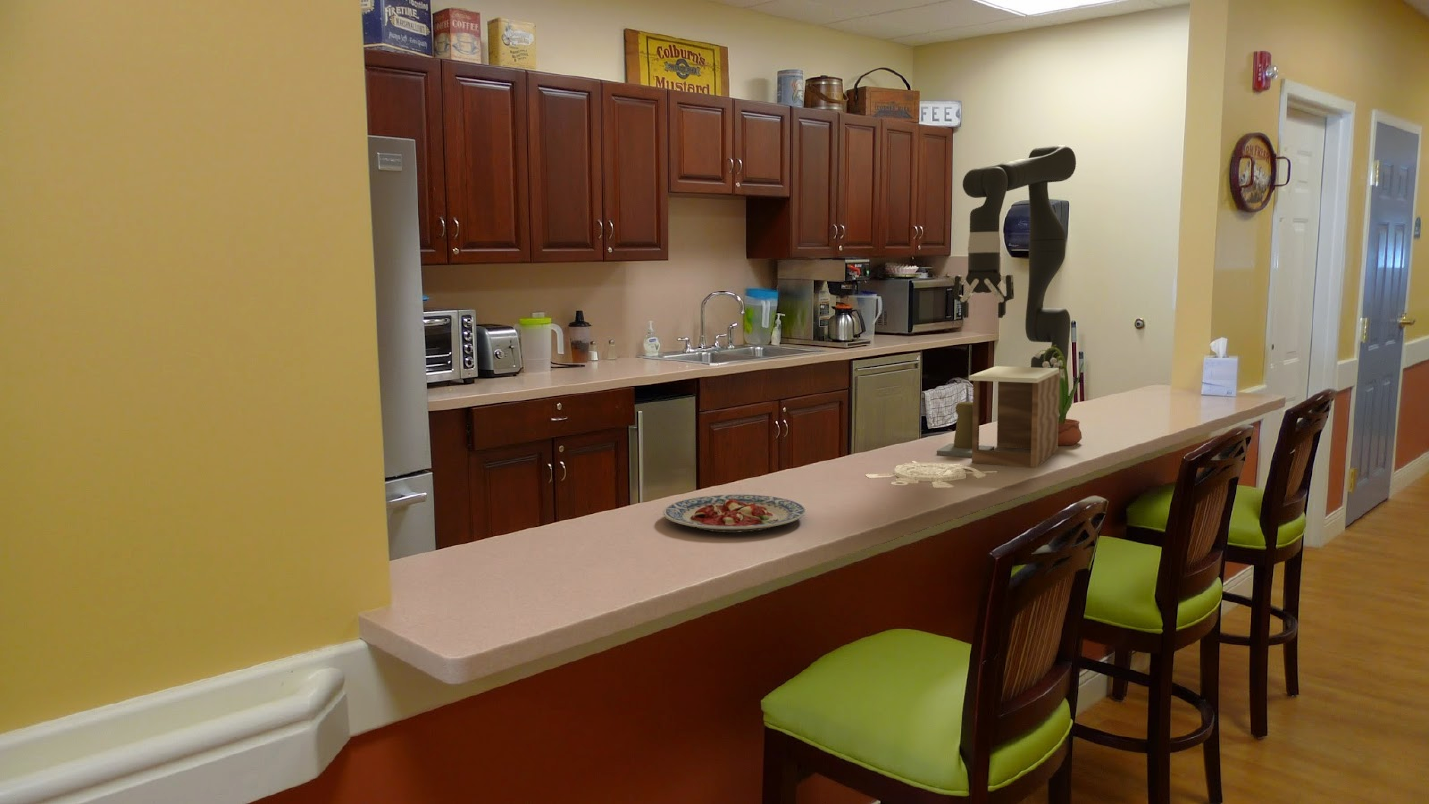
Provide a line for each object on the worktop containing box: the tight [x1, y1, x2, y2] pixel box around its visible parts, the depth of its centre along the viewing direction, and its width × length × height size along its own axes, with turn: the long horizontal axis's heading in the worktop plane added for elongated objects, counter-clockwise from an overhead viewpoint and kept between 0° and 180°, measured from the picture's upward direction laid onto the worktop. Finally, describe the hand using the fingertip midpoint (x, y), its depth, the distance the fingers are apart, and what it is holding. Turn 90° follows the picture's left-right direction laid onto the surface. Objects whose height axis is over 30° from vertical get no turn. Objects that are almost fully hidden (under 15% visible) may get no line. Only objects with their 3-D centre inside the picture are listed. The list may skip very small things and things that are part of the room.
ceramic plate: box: [662, 493, 807, 533], centre depth 185 cm, size 26×26×3 cm
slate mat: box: [936, 443, 995, 458], centre depth 247 cm, size 11×11×1 cm
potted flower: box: [1033, 345, 1084, 446], centre depth 257 cm, size 12×10×25 cm
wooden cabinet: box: [968, 365, 1060, 468], centre depth 241 cm, size 24×15×20 cm, turn 151°
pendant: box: [865, 460, 998, 489], centre depth 223 cm, size 21×28×1 cm
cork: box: [953, 400, 973, 449], centre depth 250 cm, size 6×6×11 cm
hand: (983, 317), depth 252 cm, fingers open, 8 cm apart
